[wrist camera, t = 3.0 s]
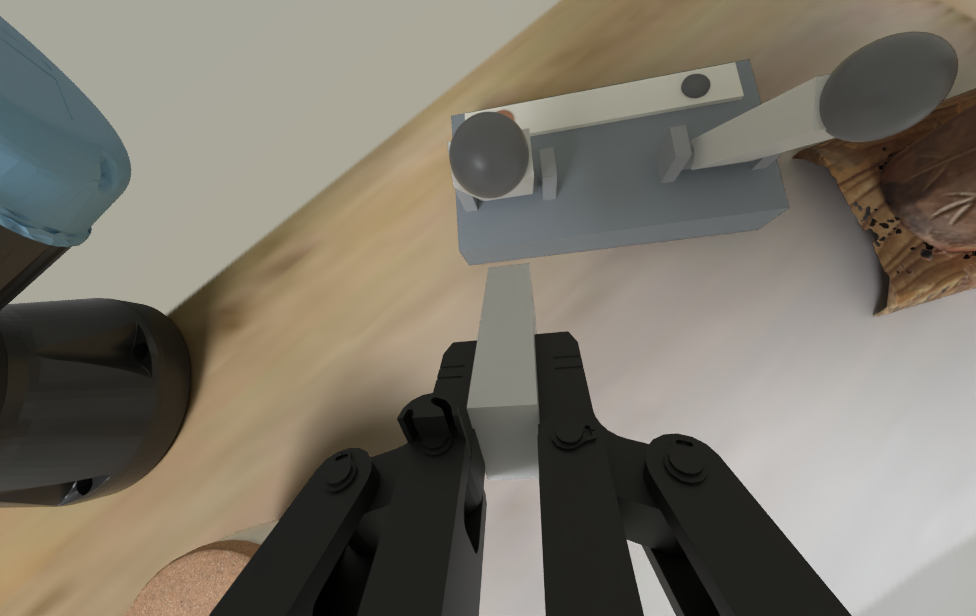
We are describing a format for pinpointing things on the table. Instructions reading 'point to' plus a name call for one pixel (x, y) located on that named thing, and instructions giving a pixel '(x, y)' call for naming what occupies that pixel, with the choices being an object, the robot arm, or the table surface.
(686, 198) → the switch unit
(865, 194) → the bird sculpture
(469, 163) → the marked lever
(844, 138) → the lever
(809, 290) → the table surface
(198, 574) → the lidded jar
